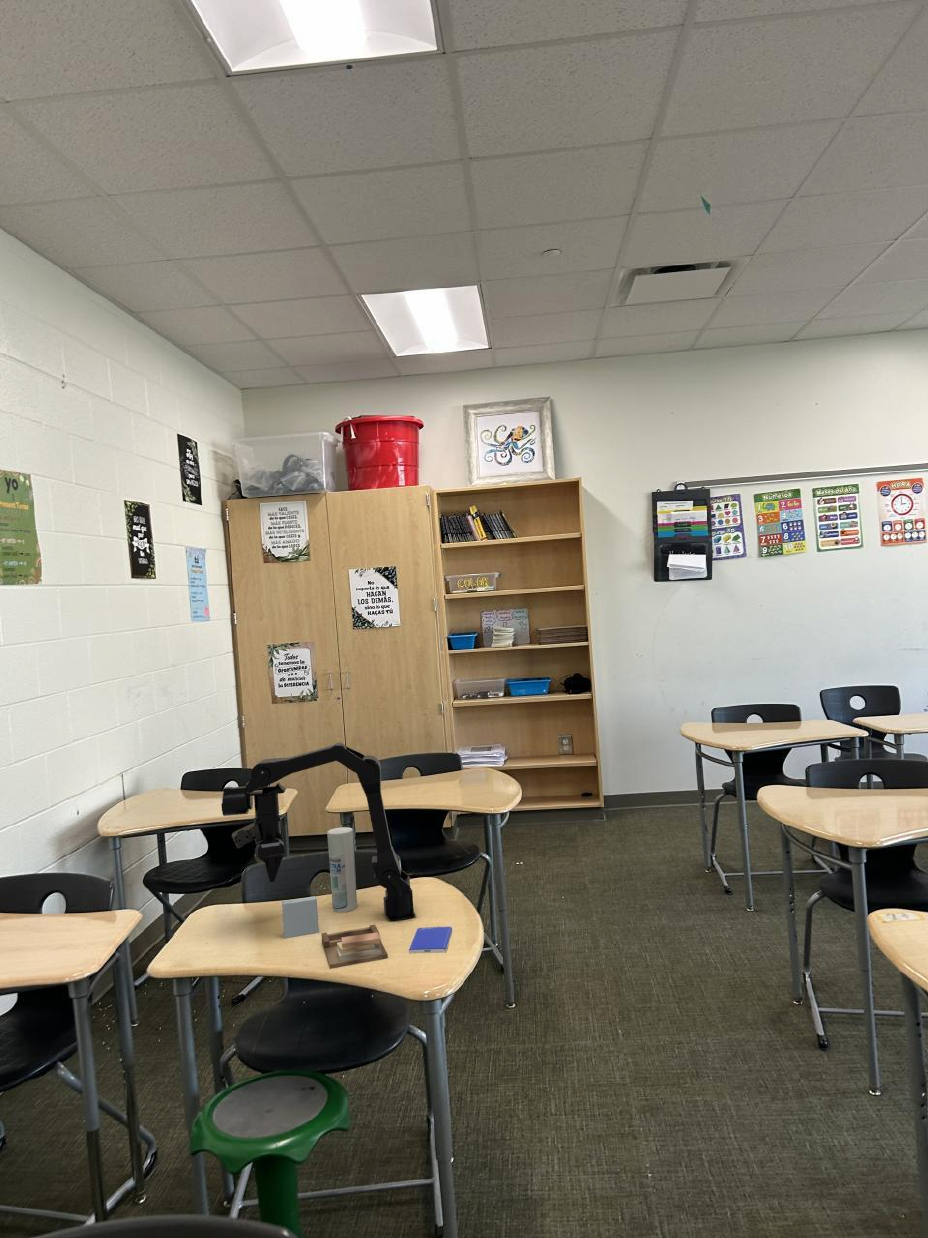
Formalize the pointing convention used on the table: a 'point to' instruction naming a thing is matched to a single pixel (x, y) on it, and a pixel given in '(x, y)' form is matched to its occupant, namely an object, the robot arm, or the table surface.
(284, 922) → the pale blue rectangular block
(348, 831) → the spray can
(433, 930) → the hard drive
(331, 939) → the rack
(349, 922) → the table surface
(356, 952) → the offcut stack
